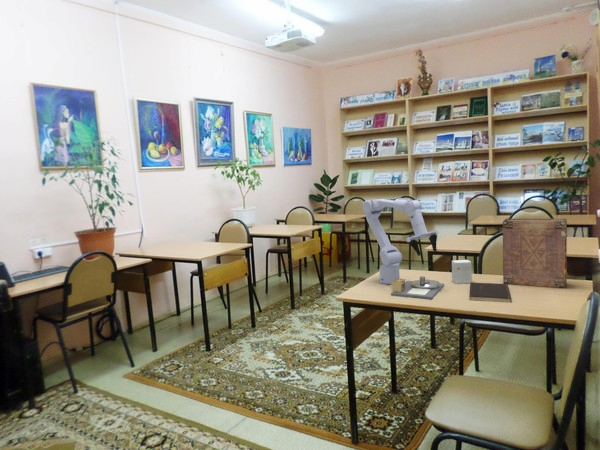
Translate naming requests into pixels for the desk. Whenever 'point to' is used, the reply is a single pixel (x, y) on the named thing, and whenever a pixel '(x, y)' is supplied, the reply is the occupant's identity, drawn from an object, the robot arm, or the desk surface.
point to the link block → (398, 285)
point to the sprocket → (425, 284)
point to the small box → (461, 271)
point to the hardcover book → (489, 292)
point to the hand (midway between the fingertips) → (427, 253)
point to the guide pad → (419, 291)
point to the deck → (428, 296)
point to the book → (535, 252)
